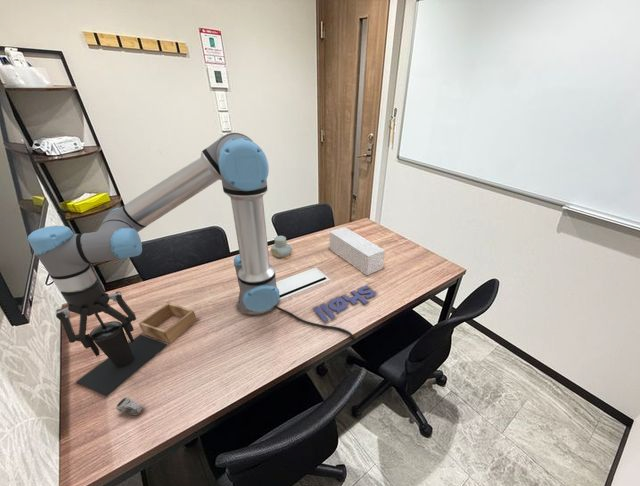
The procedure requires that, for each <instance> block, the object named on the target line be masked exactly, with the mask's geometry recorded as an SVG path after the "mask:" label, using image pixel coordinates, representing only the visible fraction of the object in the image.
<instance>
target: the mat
mask: <svg viewBox="0 0 640 486" xmlns="http://www.w3.org/2000/svg"><path fill="white" fill-rule="evenodd" d="M133 339H134V342H132V343H131V341H129V342H128V343H129V346H130V349H131V351H132V354H133V357H134V360H133V361H132V362H131V363H130V364H129V365H127V366H125V367H121V368H118V367H116V366H115V365H114V364H113V363H112V362H111V360H110V359H109V358H108V357H107V358H106V359H105V360H103V362H101V363H99V364H98V365H97V366H95V367H94V368H93V369H92V370H90V371H89V372H87V373H86V374H84V375H83V376H82V377H80V378H79V379H78V380H76V384H78V385H81V386H83V387H85V388H88V389H90V390H92V391H94V392H97V393H99V394H101V395H104V396H106V397H107V396H109V395H110V394H111V393H112V392H113V391H115V390H116V389H117V388H118V387H119V386H121V385H122V384H123V383H124V382H126V380H128V379H129V378H130V377H132V376H133V375H135V373H136V372H138V371H139V370H140V369H141V368H142V367H143V366H145V365H146V364H147V363H148V362H150V361H151V360H152V359H153V358H154V357H155V356H156V355H158V354H159V353H160V352H161V351H163V350H164V349H165V348H166V347H168V344H167V343H166V342H162V341H161V340H160V341H159V340H158V339H157V340H156V339H154V338H152V337H148V336H145V335H143V334H139V335H137V336H136V337H135V338H133Z"/></svg>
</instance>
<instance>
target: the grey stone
mask: <svg viewBox="0 0 640 486" xmlns="http://www.w3.org/2000/svg"><path fill="white" fill-rule="evenodd" d="M143 408H144V406H143V405H142V404H140V403H139V402H136V401H135V400H133V399H132V398H130V397H129V396H126V397H123V398H122V399H121V400H120V401H119V402H118V403H117V404H116V407H115V409H116V411H118V412H120V413H121V414H123V415H124V414H125V415H128V416H137V415H139V414H140V413H141V412H142V410H143Z"/></svg>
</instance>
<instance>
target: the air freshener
mask: <svg viewBox="0 0 640 486" xmlns="http://www.w3.org/2000/svg"><path fill="white" fill-rule="evenodd" d="M273 241H274V244H273V245H272V246H271V248H270V253H271V254H272V255H273V256H274V257H276V258H281V259H282V258H287V257H288V256H290V255H291V254H292V252H293V248H292V246H291V244H289V243H288V242H287V237H286V236H284V235H276V236H275V237H274V238H273Z"/></svg>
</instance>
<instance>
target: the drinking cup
mask: <svg viewBox="0 0 640 486" xmlns="http://www.w3.org/2000/svg"><path fill="white" fill-rule="evenodd" d="M94 316H95V318H96V319H97V321H98V323H99V325H97V326H96V327H94V328H93V329H92V330H91V331H90V332H89V333H88V334H89V338H90V339H91V340H92V341H94V343H95V344H96V346H97V347H98V349H99V350H101V352H103V354H104V355H105V356H106V357H107V359H108V358H109V359H110V360H111V362H112V363H113V364H114V365H115V366H116V367H118V368H121V367H125V366H127V365H129V364H130V363H131V362H132V361H133V360H134V357H133V354H132V351H131V349H130V346H129V343H130V342H129V341H128V339H127V338H128V337H127V335H126V332H125V330H124V328H123V326H122V322H120V321H118V320H112V321H107V322H104V321H103V319H102V318H101V316H100V315H99V313H95V314H94Z"/></svg>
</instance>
